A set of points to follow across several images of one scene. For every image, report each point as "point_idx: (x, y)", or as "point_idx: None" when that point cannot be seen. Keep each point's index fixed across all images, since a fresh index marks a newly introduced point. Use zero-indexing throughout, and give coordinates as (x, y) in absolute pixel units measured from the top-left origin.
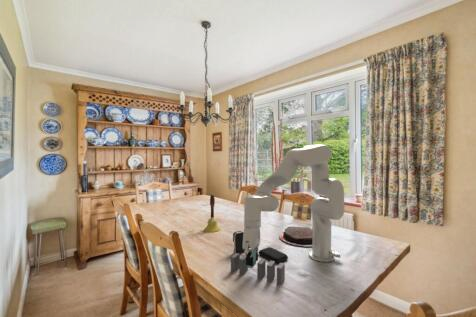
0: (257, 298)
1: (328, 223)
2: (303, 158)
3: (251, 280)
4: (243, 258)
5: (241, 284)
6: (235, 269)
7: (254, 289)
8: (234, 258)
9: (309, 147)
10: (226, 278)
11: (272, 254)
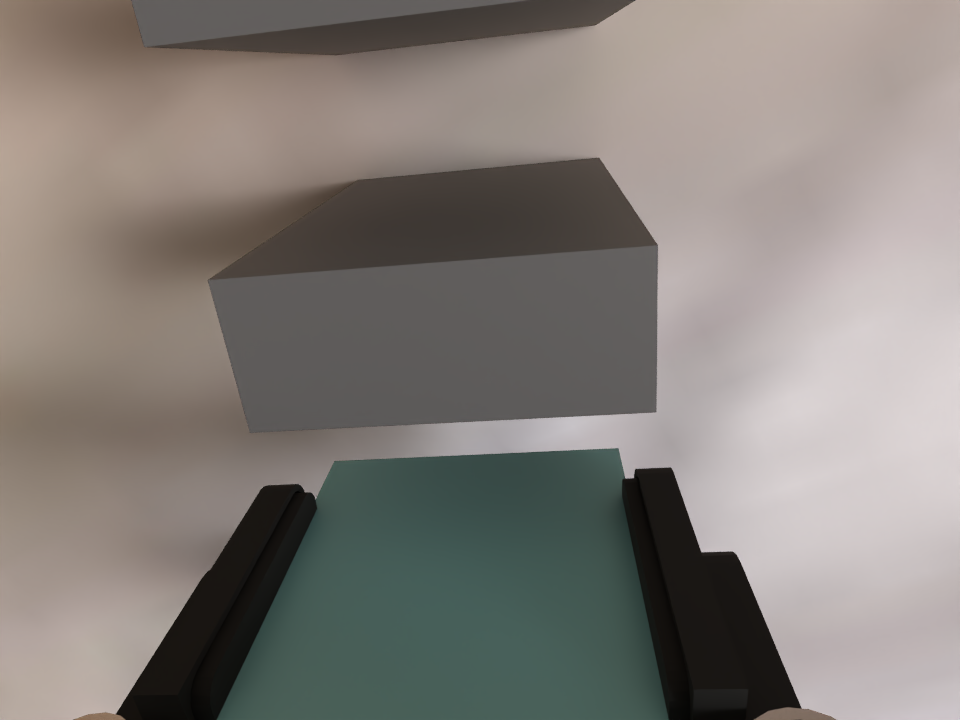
0: (42, 669)
1: None
2: None
3: (318, 468)
4: (342, 388)
5: (114, 390)
6: (360, 50)
7: (157, 586)
8: (153, 39)
9: None
10: (44, 31)
11: None
